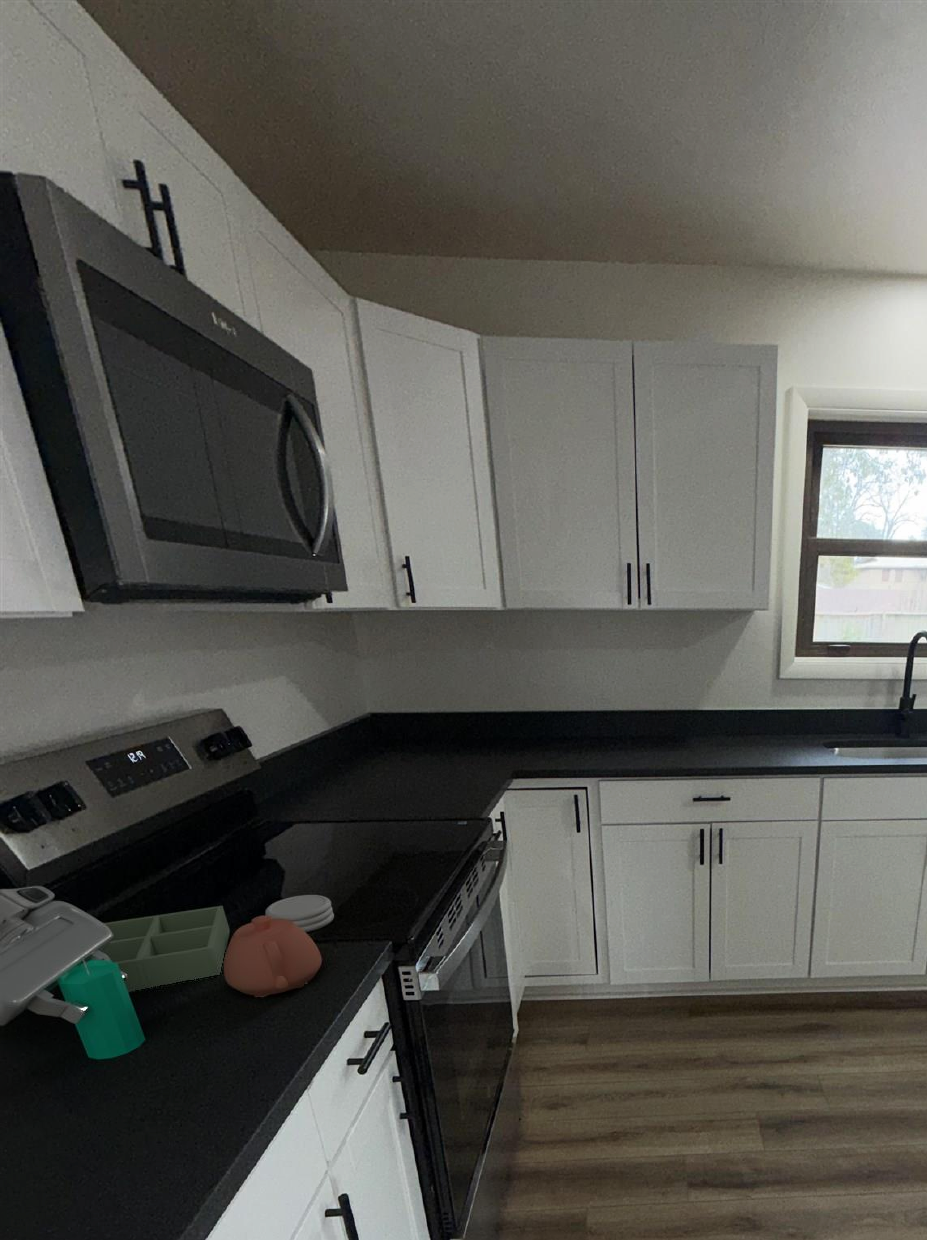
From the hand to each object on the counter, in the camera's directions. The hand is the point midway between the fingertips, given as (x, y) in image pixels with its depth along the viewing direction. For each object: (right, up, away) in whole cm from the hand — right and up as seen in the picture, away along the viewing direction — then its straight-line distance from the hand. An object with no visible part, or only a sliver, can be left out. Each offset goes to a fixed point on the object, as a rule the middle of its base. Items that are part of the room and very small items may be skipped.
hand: (104, 999), depth 90 cm
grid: (-11, +3, +24) cm, 26 cm away
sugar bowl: (+12, 0, +17) cm, 21 cm away
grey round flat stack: (+4, +9, +37) cm, 39 cm away
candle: (-1, -6, +3) cm, 7 cm away
